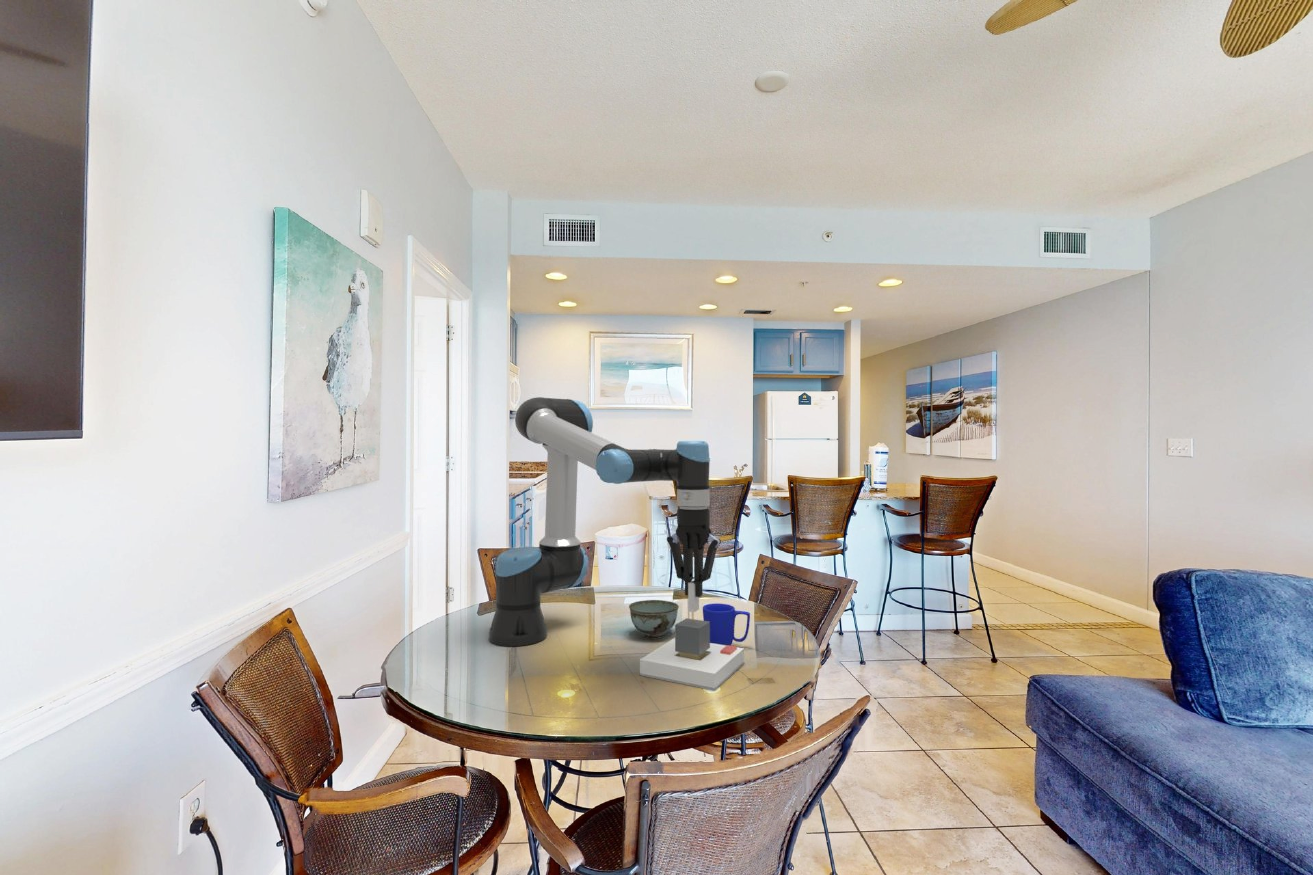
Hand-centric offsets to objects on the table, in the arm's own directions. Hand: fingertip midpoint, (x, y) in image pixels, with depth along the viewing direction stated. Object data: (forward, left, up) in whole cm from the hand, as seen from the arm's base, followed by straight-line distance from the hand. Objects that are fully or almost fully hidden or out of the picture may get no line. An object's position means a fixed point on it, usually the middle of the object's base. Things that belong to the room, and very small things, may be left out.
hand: (693, 610), depth 138 cm
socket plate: (0, 0, -14) cm, 14 cm away
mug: (+1, +18, -14) cm, 23 cm away
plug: (0, 0, -13) cm, 13 cm away
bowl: (-20, +18, -14) cm, 30 cm away
